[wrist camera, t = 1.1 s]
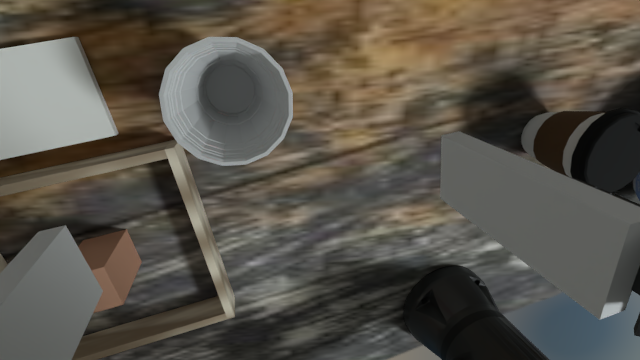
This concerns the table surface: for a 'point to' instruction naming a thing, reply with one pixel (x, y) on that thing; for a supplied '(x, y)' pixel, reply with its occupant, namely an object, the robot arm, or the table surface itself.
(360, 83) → the table surface
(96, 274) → the block
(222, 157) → the plastic cup
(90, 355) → the frame
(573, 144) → the coffee cup
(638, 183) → the ramen bowl
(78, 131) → the pad
